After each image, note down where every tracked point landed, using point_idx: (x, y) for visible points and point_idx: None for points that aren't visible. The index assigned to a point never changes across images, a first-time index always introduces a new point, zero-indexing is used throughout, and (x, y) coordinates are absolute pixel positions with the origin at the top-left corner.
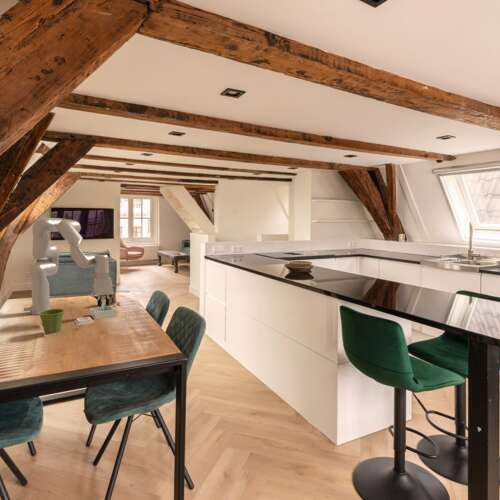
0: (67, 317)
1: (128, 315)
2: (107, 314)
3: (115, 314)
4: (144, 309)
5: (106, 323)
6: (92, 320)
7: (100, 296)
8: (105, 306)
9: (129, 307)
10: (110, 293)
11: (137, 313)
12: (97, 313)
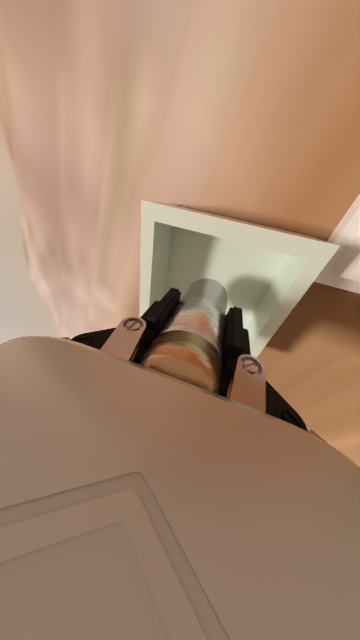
0: (312, 394)
1: (98, 206)
2: (220, 216)
3: (165, 203)
4: (30, 261)
5: (335, 27)
6: (357, 215)
7: (217, 392)
8: (194, 291)
9: (82, 328)
10: (47, 339)
11: (54, 212)
12: (308, 237)
